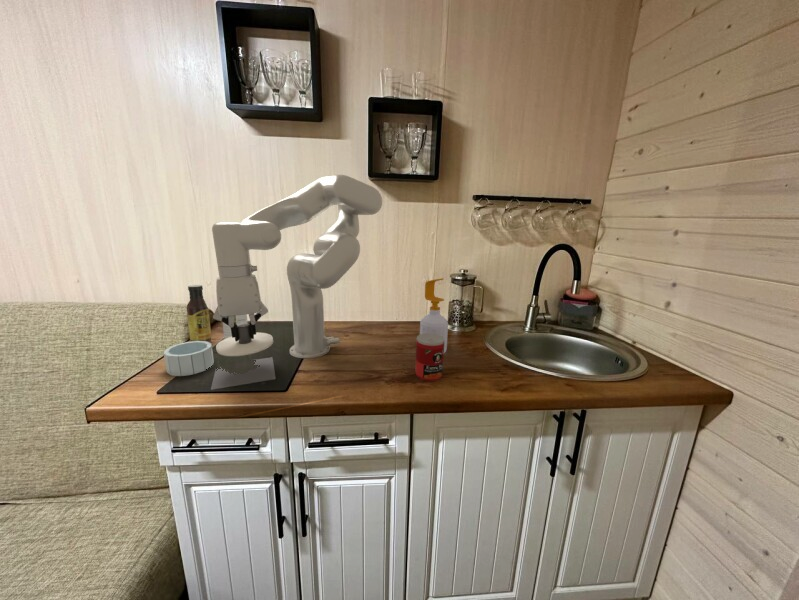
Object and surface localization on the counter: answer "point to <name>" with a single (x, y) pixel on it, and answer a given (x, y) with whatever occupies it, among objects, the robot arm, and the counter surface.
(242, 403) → the counter surface
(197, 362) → the bowl
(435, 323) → the soap bottle
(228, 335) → the syrup box
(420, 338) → the canned food
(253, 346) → the lid
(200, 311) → the sauce bottle
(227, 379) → the mat
